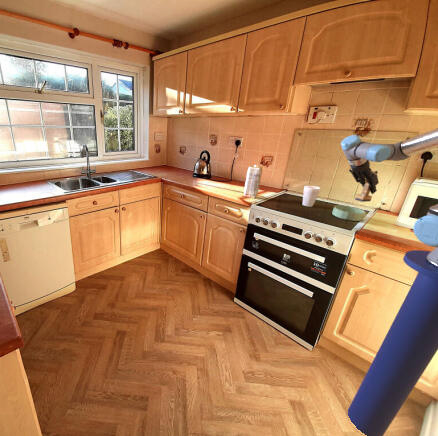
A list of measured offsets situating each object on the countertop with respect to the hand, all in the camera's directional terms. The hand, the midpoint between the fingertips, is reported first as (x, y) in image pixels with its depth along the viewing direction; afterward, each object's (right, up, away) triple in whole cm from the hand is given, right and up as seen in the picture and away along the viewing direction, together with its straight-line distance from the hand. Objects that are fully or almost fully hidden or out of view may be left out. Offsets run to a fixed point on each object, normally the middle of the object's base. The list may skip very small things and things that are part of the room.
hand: (371, 191), depth 136 cm
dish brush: (-4, -5, +1) cm, 6 cm away
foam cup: (-13, -6, +35) cm, 37 cm away
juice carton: (-46, +2, +51) cm, 69 cm away
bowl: (-2, -14, +14) cm, 20 cm away
